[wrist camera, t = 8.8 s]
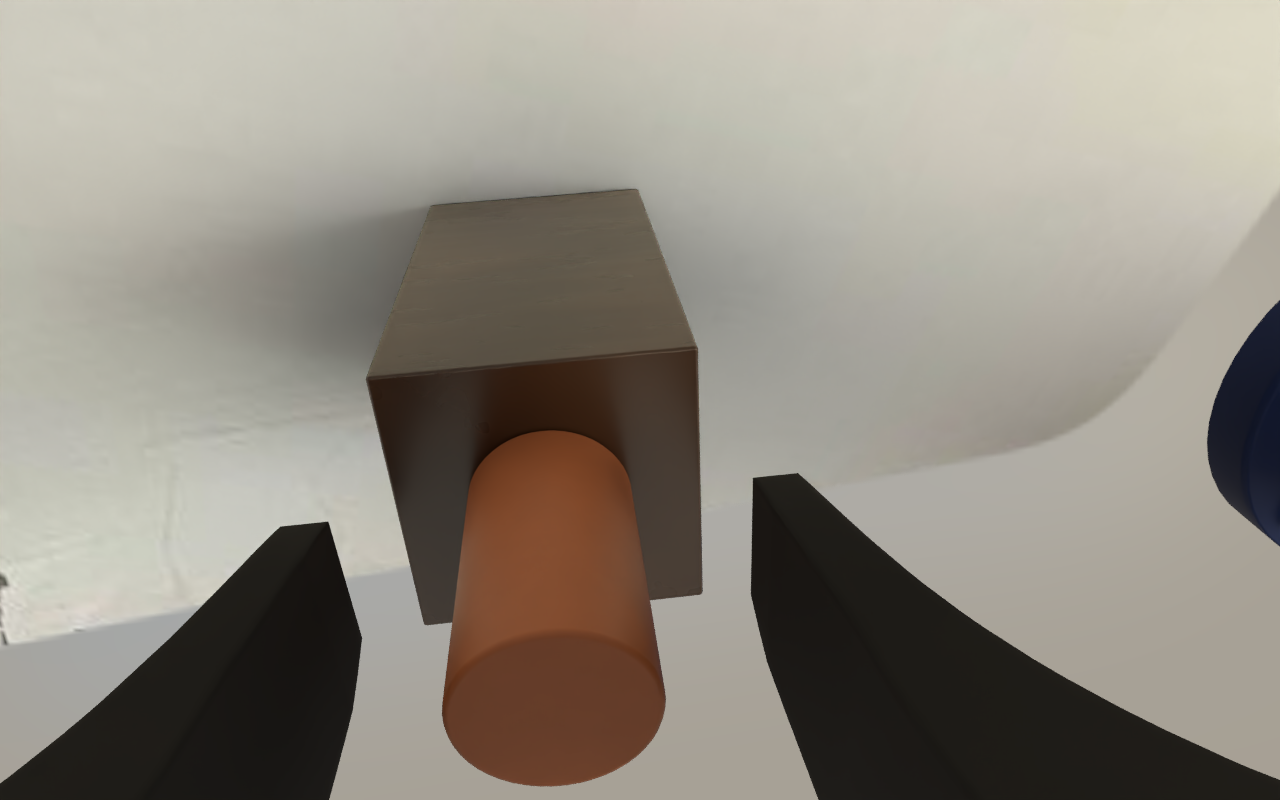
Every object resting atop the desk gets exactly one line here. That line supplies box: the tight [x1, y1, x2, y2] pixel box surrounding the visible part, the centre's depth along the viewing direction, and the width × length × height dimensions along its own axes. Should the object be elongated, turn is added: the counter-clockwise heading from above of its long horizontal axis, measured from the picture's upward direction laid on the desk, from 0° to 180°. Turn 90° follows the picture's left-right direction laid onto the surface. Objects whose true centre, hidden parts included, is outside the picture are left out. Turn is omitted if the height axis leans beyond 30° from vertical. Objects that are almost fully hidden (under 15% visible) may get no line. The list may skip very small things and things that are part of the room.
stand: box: [366, 189, 703, 625], centre depth 16 cm, size 4×4×8 cm
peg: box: [442, 430, 666, 786], centre depth 11 cm, size 2×2×4 cm
